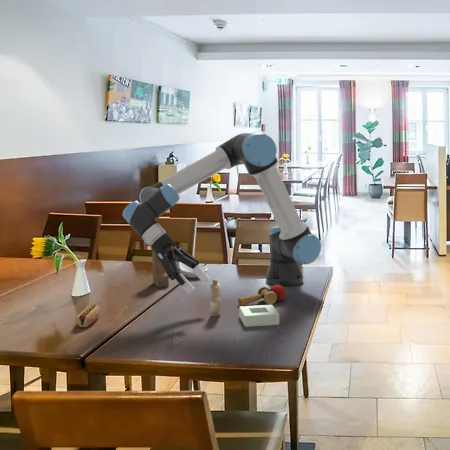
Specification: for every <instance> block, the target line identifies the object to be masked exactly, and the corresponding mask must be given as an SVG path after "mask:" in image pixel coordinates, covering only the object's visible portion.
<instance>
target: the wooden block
mask: <svg viewBox="0 0 450 450" xmlns="http://www.w3.org/2000/svg"><path fill="white" fill-rule="evenodd" d="M151 257H152V259H151V260H152V261H151V262H152V283H153V284H154V285H155V287H156V288H159V289H160V288H168V287H169V284H170V283H169V282H170V281H169V277H168V275H167V273H166V271H165V269H164V267H163V265H162V263H161V262H160V260H159V259H158V258H157V255H156V253H155V252H154V251H153V250H152V249H151Z"/></svg>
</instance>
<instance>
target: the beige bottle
mask: <svg viewBox="0 0 450 450" xmlns="http://www.w3.org/2000/svg"><path fill="white" fill-rule="evenodd" d="M209 286H210V291H209V293H210V316H211V317H220V316H221V284H220V283H218V279H212V283H210V285H209Z"/></svg>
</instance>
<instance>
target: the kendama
mask: <svg viewBox="0 0 450 450" xmlns="http://www.w3.org/2000/svg"><path fill="white" fill-rule="evenodd" d="M284 298H286V289H285V286H281V285H271V287H270V289H269V288H268V287H267V286H261V287H259V289H258V290H257V294H254V295H249V296H245V297H239V298H238V299H237V302H238V305H239V306H247V305H249V304H252V303H255V302H257V301H260V300H262V299H263V301H264V303H266V305H274V304H275V303H276V302H281V301H283V299H284Z"/></svg>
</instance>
